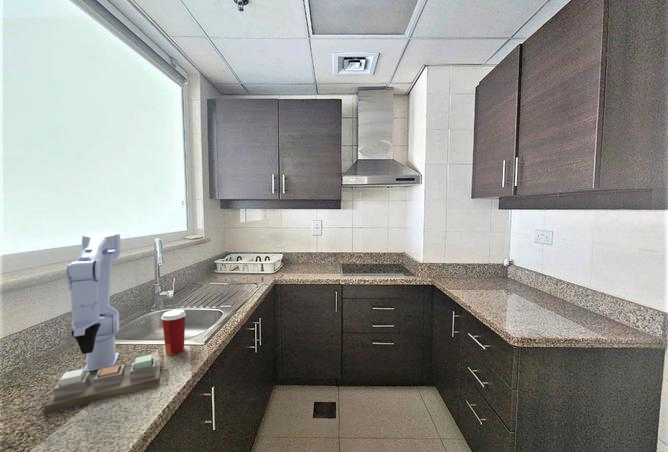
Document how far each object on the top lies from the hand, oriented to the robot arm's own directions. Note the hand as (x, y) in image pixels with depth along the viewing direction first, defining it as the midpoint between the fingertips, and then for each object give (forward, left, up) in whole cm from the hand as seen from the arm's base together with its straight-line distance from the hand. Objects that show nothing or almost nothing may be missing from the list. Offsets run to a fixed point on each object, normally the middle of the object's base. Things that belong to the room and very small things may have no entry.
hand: (87, 352), depth 81 cm
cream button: (+2, -3, -7) cm, 8 cm away
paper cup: (-13, +21, -11) cm, 27 cm away
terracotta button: (+2, +5, -8) cm, 10 cm away
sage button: (+2, +13, -7) cm, 15 cm away
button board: (+2, +5, -10) cm, 12 cm away
